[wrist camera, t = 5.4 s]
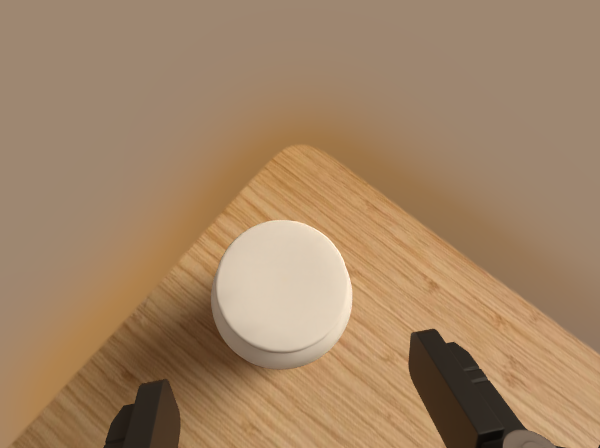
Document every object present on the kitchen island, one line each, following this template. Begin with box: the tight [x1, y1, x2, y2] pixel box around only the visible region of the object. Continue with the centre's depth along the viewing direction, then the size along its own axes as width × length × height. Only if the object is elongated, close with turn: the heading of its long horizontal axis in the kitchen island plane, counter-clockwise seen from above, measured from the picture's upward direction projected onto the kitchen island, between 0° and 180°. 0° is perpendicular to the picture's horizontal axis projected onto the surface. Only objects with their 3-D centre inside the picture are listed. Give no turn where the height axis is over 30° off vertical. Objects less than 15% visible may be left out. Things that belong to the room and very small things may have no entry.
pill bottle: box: [211, 220, 352, 369], centre depth 18 cm, size 6×6×11 cm
